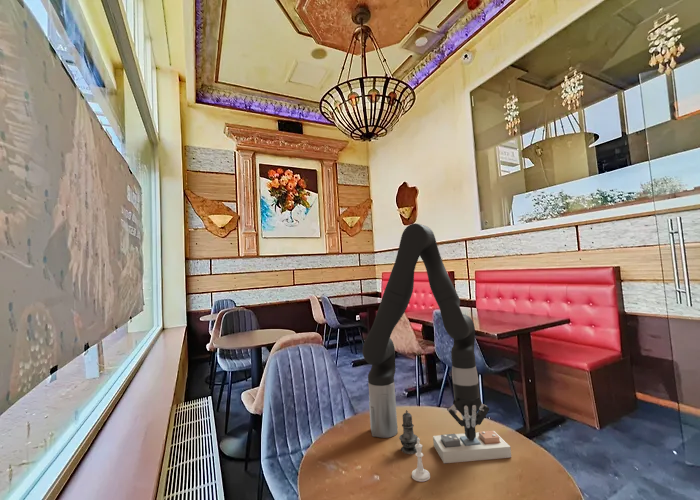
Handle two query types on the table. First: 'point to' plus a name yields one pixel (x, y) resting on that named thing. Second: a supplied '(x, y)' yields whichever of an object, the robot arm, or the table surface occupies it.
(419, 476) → the chess piece
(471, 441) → the one-dot button
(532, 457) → the table surface
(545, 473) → the table surface
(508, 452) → the button panel
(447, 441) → the three-dot button
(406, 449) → the dark grey tall piece
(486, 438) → the two-dot button
